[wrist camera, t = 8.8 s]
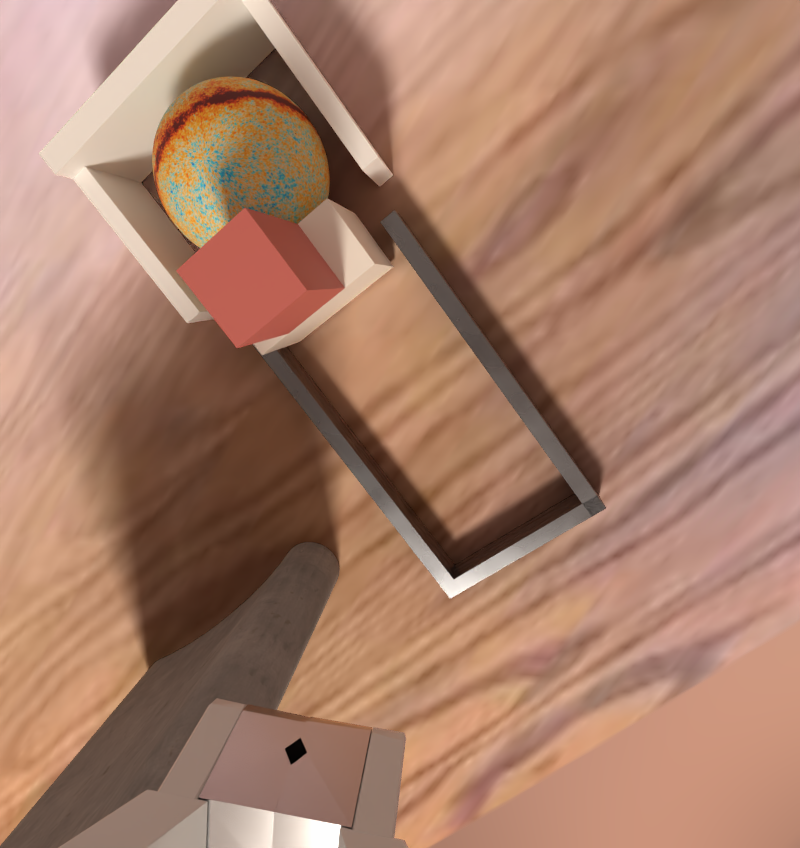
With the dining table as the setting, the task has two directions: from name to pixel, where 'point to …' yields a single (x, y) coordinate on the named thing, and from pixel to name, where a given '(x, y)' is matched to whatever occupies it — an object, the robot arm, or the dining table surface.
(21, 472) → the dining table surface
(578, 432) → the dining table surface
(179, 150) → the ball
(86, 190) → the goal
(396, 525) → the dark grey rectangular frame
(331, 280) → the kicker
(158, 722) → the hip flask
